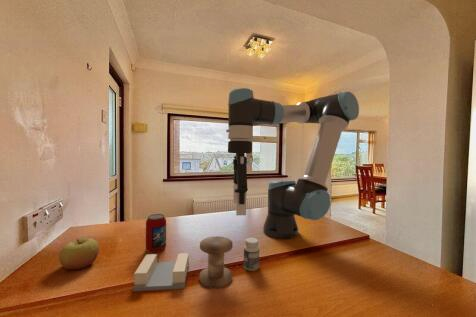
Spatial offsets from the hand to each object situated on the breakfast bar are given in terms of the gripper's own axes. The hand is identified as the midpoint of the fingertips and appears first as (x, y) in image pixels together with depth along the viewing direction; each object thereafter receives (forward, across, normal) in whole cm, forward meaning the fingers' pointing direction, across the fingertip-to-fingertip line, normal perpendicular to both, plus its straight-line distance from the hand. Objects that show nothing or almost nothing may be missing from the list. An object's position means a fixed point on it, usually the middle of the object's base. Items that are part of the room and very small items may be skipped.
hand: (239, 208), depth 67 cm
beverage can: (+18, -11, -28) cm, 35 cm away
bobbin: (+18, +7, -7) cm, 20 cm away
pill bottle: (+18, +2, +4) cm, 19 cm away
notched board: (+18, +6, -21) cm, 28 cm away
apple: (+18, -2, -48) cm, 51 cm away
